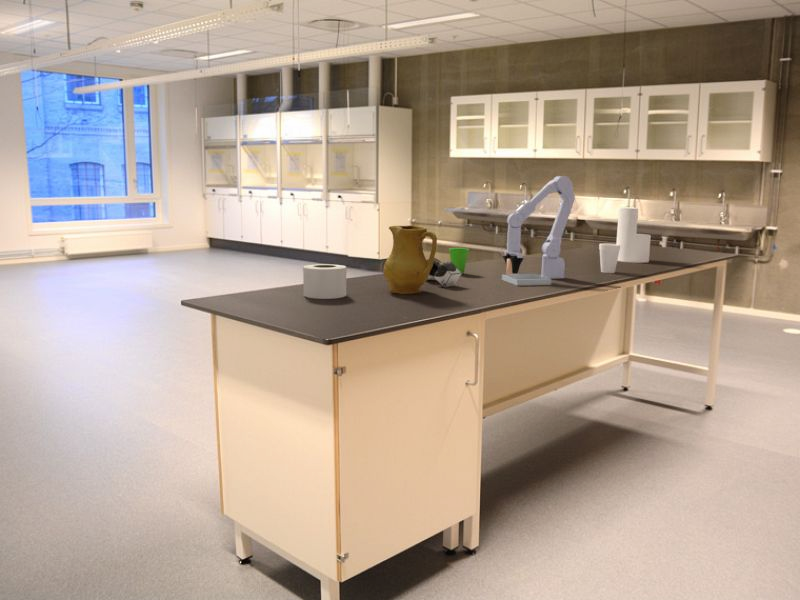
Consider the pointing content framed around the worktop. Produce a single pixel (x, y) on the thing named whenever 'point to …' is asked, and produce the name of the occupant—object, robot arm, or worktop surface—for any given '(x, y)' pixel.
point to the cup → (459, 257)
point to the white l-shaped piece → (631, 237)
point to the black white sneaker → (444, 273)
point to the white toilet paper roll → (324, 281)
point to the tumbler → (509, 267)
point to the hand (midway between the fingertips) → (512, 272)
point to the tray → (526, 279)
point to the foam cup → (608, 257)
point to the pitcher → (408, 259)
